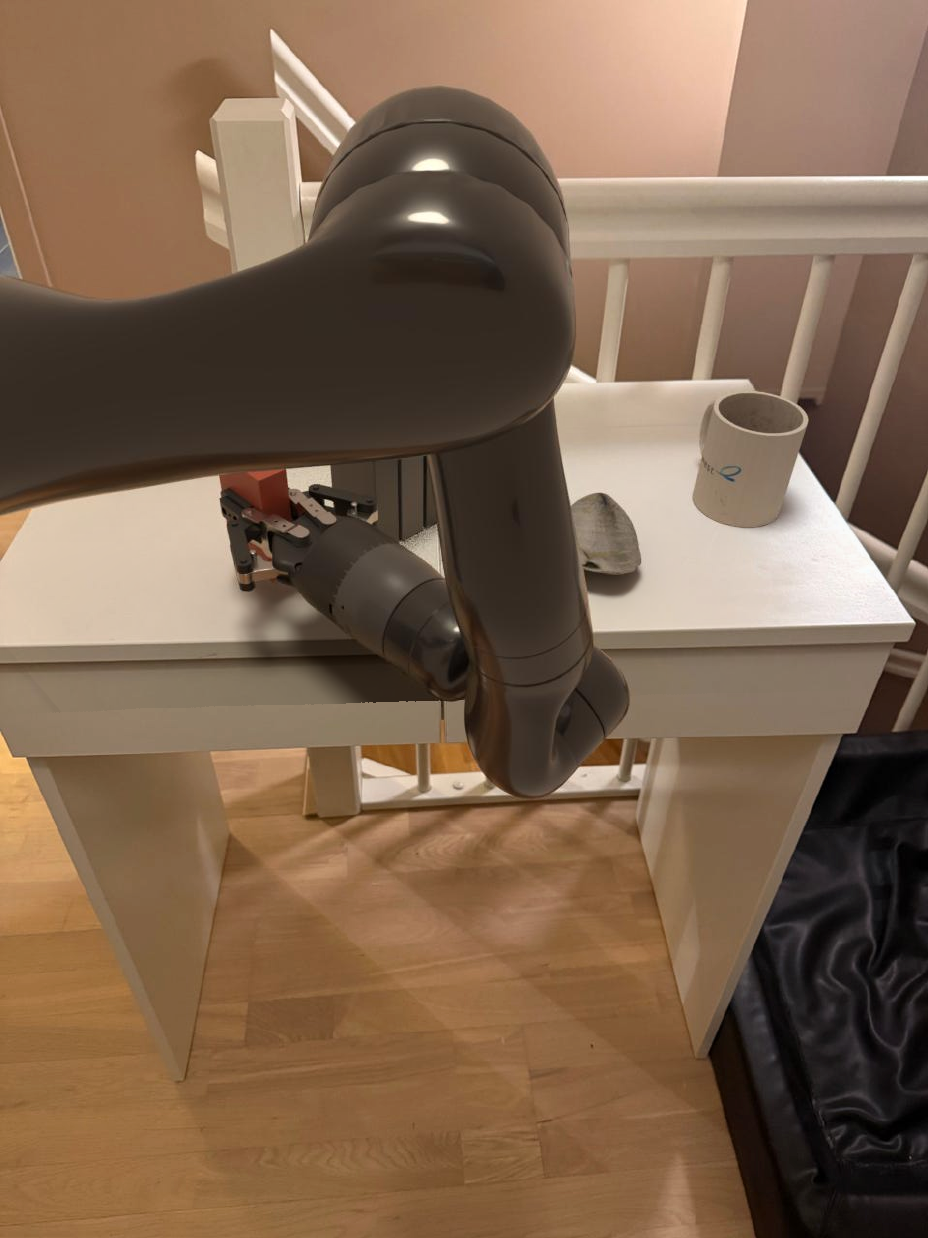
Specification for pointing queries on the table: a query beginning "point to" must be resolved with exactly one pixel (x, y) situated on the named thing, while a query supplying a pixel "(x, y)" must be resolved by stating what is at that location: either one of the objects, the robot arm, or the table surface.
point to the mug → (747, 457)
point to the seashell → (605, 535)
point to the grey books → (392, 492)
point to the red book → (262, 495)
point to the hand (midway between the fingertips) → (242, 492)
